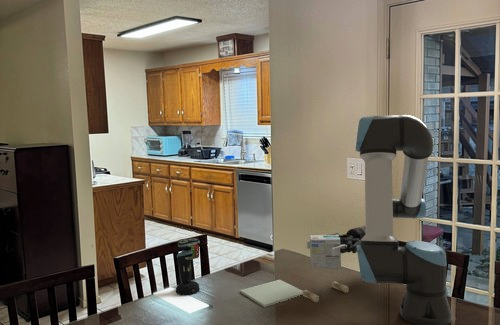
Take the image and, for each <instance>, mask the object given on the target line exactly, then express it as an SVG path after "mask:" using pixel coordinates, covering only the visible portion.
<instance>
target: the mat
mask: <svg viewBox="0 0 500 325" xmlns="http://www.w3.org/2000/svg"><path fill="white" fill-rule="evenodd" d="M303 291H304V290H302V289H300V288H298V287H296V286H294V285H292V284H290V283H287V282H285V281H284V280H281V279H277V280H274V281H273V280H272V281H270V282H266V283H261V284H258V285H255V286H250V287H246V288H243V289H240V290H239V292H240V293H241V294H243V295H244V296H246V297H247V298H249V299H251V300H252V301H254V302H255V303H257V304H258V305H260V306H261V307H263V308H266V307H269V306H273V305H276V304H278V303H279V302H280V303H283V302H286V301H289V300H292V299H291V298H293V299H295V298H294V297H296V298H298V297H297V296H299V297H301V296H300V295H303ZM288 299H289V300H288ZM280 303H279V304H280Z"/></svg>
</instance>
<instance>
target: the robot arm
mask: <svg viewBox="0 0 500 325" xmlns="http://www.w3.org/2000/svg"><path fill="white" fill-rule="evenodd" d="M357 125H358V127H357V132H356V133H357V134H356V142H355V151H356V152H358V153H359V157H360V159H362V160H363V161H364V193H365V194H364V200H365V201H364V203H365V204H364V205H365V206H364V209H365V213H364V214H365V225H362V226H358V227H354V228H350V229H348V231H346V233H343V234H339V233H338V232H336V233H333V234H332V233H331V234H329V235H339V238H340V246H337V247H334V248H332V256H336V255H339V254H341V255H343V254H345V253H352V254H356V253H357V259H358V267H359V274H360V278H361V280H362V281H363V282H364V283H371V284H372V283H373V284H390V285H392V284H393V285H394V284H395V285H405V293H404V296H403V299H402V302H401V304H400V306H399V311H400V313H399V314H400V316H401V318H402V319H403V320H404V321H406V322H408V323H410V324H412V325H450V324H451V323H452V321H453V315H452V314H453V313H452V309H451V306H450V304H449V300H448V297H447V265H448V263H447V253H446V251H445V249H443V248H442V247H441V246H439V245H437V244H434V243H432V242H427V241H422V240H409V241H406V243H405V246H400V245H399V244H400V243H399V242H400V241H399V240H398V238H397V237H396V236H395V235H394V218H395V219H423V218H425V217H426V215H427V202H426V200H425V199H424V198H422V197H423V190H424V187H425V186H424V185H425V180H426V173H427V172H426V171H427V167H428V161H429V158H430V157H431V155H432V154H433V150H434V140H433V136H432V133H431V131H430V130H429V128H428V127H427V125H426V124H425V123H424V122H423V121H421V120H420V119H419V118H417V117H415V116H413V115H409V114H408V115H407V114H401V115H371V116H362V117H361V118H360V119H359V120H358V124H357ZM397 152H402V153H403V155H404V158H403V160H404V161H403V170H402V178H401V187H400V188H401V189H400V195H399V196H400V197H399V198H393V161H394V159H395V158H397ZM306 249H309V250H310V239H309V240H306Z"/></svg>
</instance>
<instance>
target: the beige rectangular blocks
mask: <svg viewBox="0 0 500 325" xmlns="http://www.w3.org/2000/svg"><path fill="white" fill-rule="evenodd" d="M331 283H332V284H331V285H332V286H331V288H333V289H335V290H337V291H340V292H342V293H344V294H347V293H349V291H350V290H349V289H350V288H349V287H350V286H348V285H345V284H343V283H340V282H339V281H336V280H334V281H332V282H331ZM302 291H303V296H305V297H307V298H309V299H311V300H313V301H315V302H316V301H319V302H320V296H319V295H317V294H315V293H314V292H311V291H309V290H307V289H305V290H302ZM303 296H302V297H303ZM305 297H304V298H305ZM307 298H306V299H307ZM309 299H308V300H309ZM311 300H310V301H311ZM313 301H312V302H313ZM315 302H314V303H315ZM316 303H317V302H316Z"/></svg>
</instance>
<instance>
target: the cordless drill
mask: <svg viewBox="0 0 500 325" xmlns="http://www.w3.org/2000/svg"><path fill="white" fill-rule="evenodd" d="M176 244H177V247H178V249H179V250H181V251H180V252H179V253H177V255H176V258H177V265H178V271H179V279H180V282H181V283H179V284H177V285H176V287H175V294H176V295H179V296H191V295H196V294H197V293H199V292H200V291H201V289H200V284H199V283H198V282H197V281H195V280H192V263H191V262H192V260H195V259H199V257H200V239H199V238H196V237H194V238H190V237H189V238H180V239H178V241H177V243H176Z"/></svg>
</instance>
